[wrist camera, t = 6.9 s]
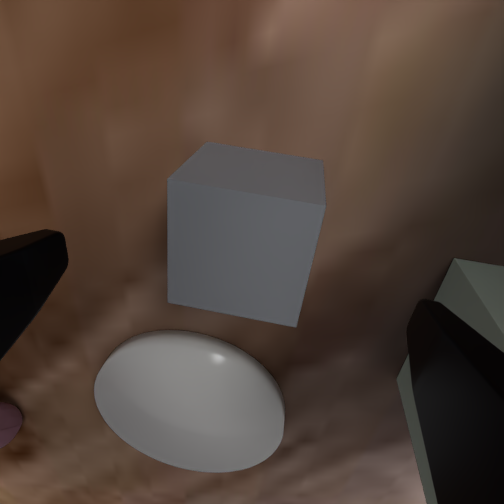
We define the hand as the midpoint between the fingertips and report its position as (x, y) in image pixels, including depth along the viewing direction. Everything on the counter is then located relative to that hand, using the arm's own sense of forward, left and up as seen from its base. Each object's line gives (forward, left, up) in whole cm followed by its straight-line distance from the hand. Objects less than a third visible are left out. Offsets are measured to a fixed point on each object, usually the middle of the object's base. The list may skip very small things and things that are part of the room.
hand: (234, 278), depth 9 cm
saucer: (+8, +9, -5) cm, 13 cm away
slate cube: (0, 0, -5) cm, 5 cm away
